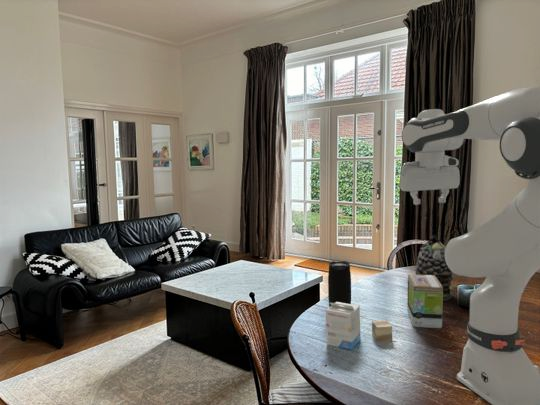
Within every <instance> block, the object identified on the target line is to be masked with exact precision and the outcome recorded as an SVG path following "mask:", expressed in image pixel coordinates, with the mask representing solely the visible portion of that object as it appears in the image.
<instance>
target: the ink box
mask: <svg viewBox="0 0 540 405" xmlns="http://www.w3.org/2000/svg"><path fill="white" fill-rule="evenodd" d="M330 304H331V306H330V307H328V308H327V309H325V321H326V322H325V323H326V345H327V346H331V347H336V348H341V349H346V350H351V351H353V350H354V348H356V346H357V345H358V344H359V342H360V341H361V317H360V316H361V312H360V308H361V307H360V305H357V304H352V303H351V304H346V303H341V302H335V303H330Z"/></svg>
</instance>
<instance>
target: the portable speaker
mask: <svg viewBox="0 0 540 405" xmlns="http://www.w3.org/2000/svg"><path fill="white" fill-rule="evenodd" d="M327 274H328V275H327V282H328V283H327V285H328V286H327V288H328V290H327V292H328V293H327V294H328V296H327V299H328V306H329V307H330V306H331V304H330V303H335V302H341V303H346V304H352V276H351V275H352V274H351V264H350V262H349V261H347V260H343V261H335V260H331V261H329V262H328V273H327ZM329 307H328V308H329Z"/></svg>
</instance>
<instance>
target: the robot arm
mask: <svg viewBox="0 0 540 405" xmlns="http://www.w3.org/2000/svg"><path fill="white" fill-rule="evenodd" d="M466 139H467V140H480V141H481V140H482V141H499V151H500V154H501V156H502V158H503V160H504V162H505V163H506V164H507V166H508V167H509V168H510V169H512V170H514V173H515V174H516V175H517V177H519V178H522V179H524V180H528V182H527V184H526V186H525V187H524V188H523V189H522V190H521V191H520V192H519V193H518V194H517V195H516V196H515V197H514V198H513V199H512V200H511V201H510V202H509V204H508V205H507V206H506V207H504V209H503V210H502V211H501V212H499V213H498V214H497V215H496V216H493V217H492V218H491V219H489V220H487V221H486V222H484V223H482V224H481V225H479V226H478V227H476V228H474V229H472V230H470V231H468V232H467V233H464V234H462V235H460V236H456V237H454V238H451V239H450V240H449V241H448V242H447V244H446V245H445V247H446V248H445V261H446V264H447V266H448V267H449V269H450V270H451V271H452V273H453V274H454V275H456V276H460V277H461V276H462V277H467V278H485V280H483V282H482V283H481V285H479V286H478V287H476V288H475V289H473V291H472V292H471V295H470V297H469V320H468V322H467V326H466V330H467V331H466V332H467V334H466V335H467V337H468V338H467V342H466V344H465V345H464V347H463V349H462V350H463V351H462V356H461V357H462V358H461V366H460V371H459V372H458V373H457V374H456V379H457V381H459V382H460V383H462V384H463V385H464V386H466V387H467V388H469V389H470V390H471V391H473V392H474V393H476V394H477V395H478V396H480V397H481V398H482V399H484V400H485V401H487V402H488V403H489V404H491V405H540V367H539V366H538V365H536V364H533V362H532V360H530V357H528V355H527V353H526V352H525V350H524V348H523V345H525V339H522V334H521V333H520V329H519V328H518V326H519V324H518V323H519V312H520V311H519V310H520V302H521V299H522V295H523V292H524V291H525V289H526V286H527V285H528V283H529V281H530V280H531V278H532V276H534V275H535V273H536V272H537V271H538V270H540V86H528V87H522V88H521V87H520V88H517V89H516V88H515V89H512V90H509V91H506V92H503V93H501V94H497V95H496V96H492V97H490V98H488V99H485V100H482V101H480V102H477V103H475V104H472V105H469V106H467V107H464V108H461V109H459V110H456V111H454V112H450V113H446V114H445V111H444V110H442V109H440V108H429V109H425V110H422V111H421V112H419V113H418V115H417V117H413V118H412V117H411V119H410V120H409V121H407V122H406V124H405V125H404V127H403V128H402V131H401V140H402V141H401V142H402V143H403V145H404V146H405V148H407V150H408V151H410V152H411V153H414V154H415V155H414V156H415V159H414V161H412V162H409V161H406V162H405V163H403V164H402V165H401V167H400V180H399V189H400V190H401V191H403V192H409V194H410V196H411V198H412V202H413V205H415V206H418V205H421V202H422V201H421V198H418V192H419V191H433V190H434V191H436V190H440V192H441V195H440V196H438V198H437V199H438V203H439V204H445V203H447V202H446V201H447V200H446V199H447V198H448V197H447V196H448V195H449V193H450V190H451V189H457V188H458V187H459V186H460V181H461V180H460V179H461V177H460V169H459V167H458V166H459V164H460V162H459V159H457V158H455V157H452V156H449V155H446V154H445V153H446V152H445V151H453V150H457V149H458V150H459V149H460V148H461V147H462V146H463V145H464V144H465V142H466Z"/></svg>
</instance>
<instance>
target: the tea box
mask: <svg viewBox="0 0 540 405" xmlns="http://www.w3.org/2000/svg"><path fill="white" fill-rule="evenodd" d="M443 301H444V300H443V287H442V285H441V284H440V282H439V281H438V279H437V278H436V277H435V275H416V274H411V273H409V274H408V275H407V307H406V308H407V309H406V310H407V313H408V316H409V319H410V322H411V324H412V327H414V328H428V329H429V328H431V329H442V328H443V308H444V307H443V306H444V304H443V303H444V302H443Z"/></svg>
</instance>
